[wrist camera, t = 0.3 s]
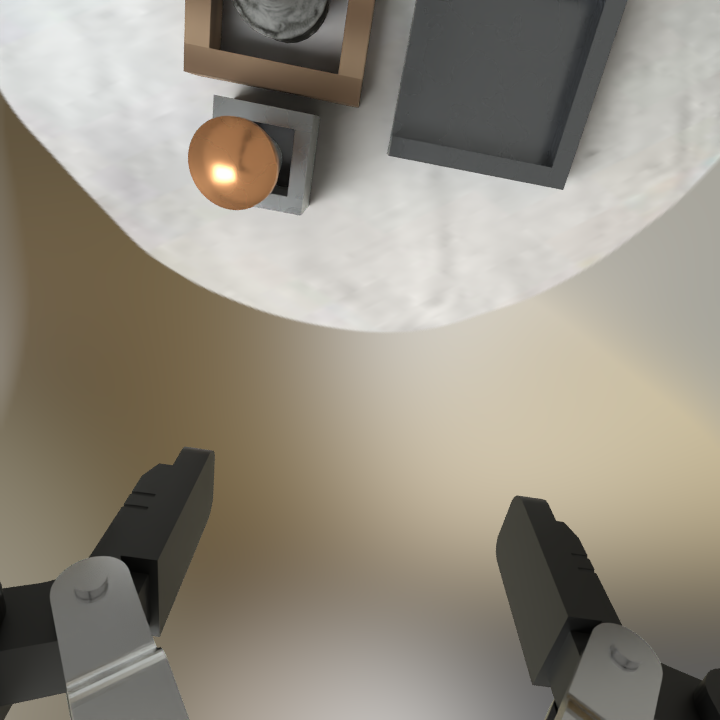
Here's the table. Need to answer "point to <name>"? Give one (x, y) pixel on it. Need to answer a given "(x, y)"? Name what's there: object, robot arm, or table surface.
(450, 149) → the tray
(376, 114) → the table surface
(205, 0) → the socket collar
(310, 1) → the dark grey chess piece
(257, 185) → the copper mushroom knob
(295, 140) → the housing
